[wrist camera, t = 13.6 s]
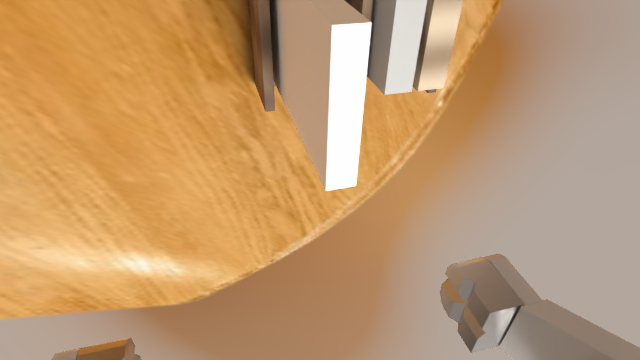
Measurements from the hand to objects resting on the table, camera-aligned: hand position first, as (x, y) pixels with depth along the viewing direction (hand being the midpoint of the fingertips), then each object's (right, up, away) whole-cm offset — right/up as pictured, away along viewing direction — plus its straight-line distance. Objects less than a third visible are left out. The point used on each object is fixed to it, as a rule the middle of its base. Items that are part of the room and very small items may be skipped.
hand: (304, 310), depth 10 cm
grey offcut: (+6, +22, +35) cm, 42 cm away
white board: (-4, +20, +33) cm, 39 cm away
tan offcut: (+9, +23, +36) cm, 43 cm away
